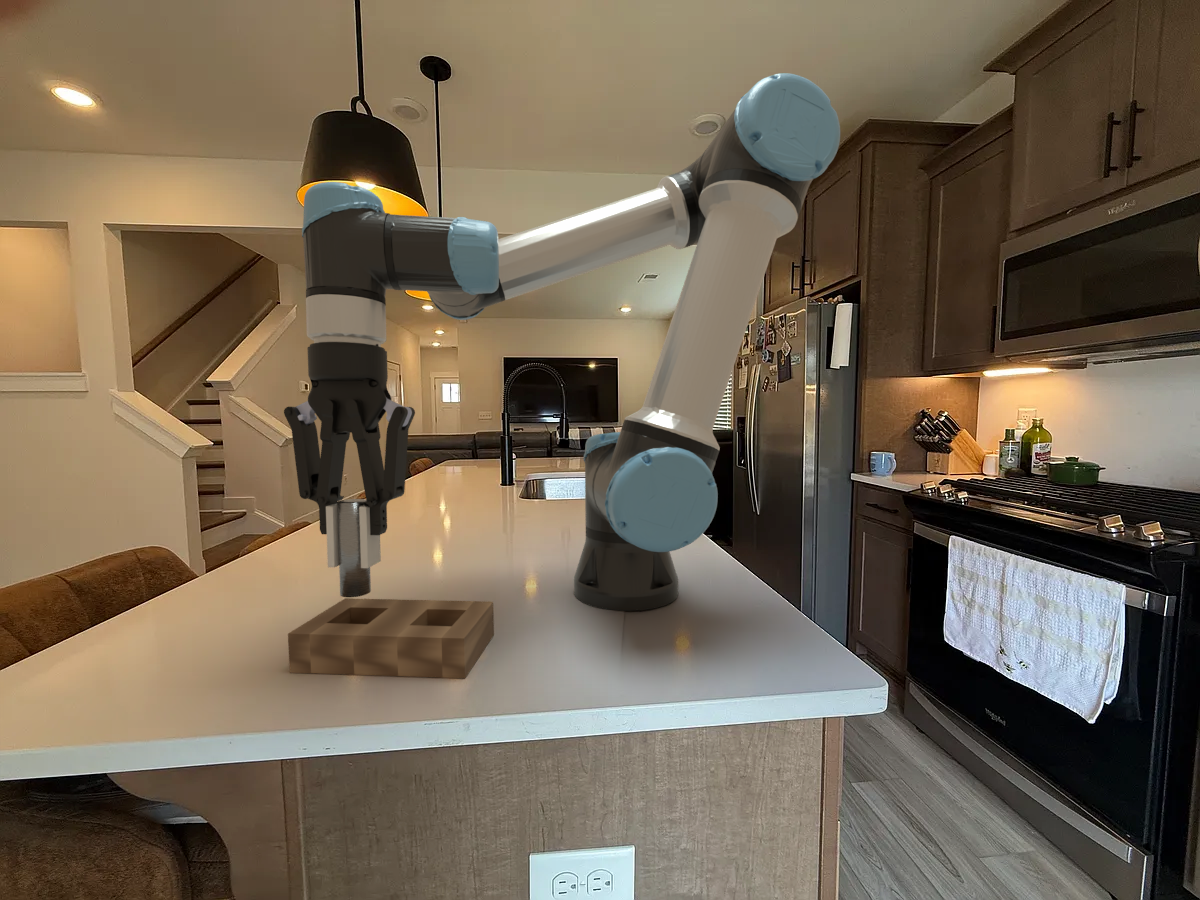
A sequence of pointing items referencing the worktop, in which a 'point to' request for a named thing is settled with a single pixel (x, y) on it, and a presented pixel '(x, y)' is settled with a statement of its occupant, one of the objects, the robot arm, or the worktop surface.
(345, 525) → the peg
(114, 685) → the worktop surface
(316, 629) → the socket block
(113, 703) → the worktop surface
